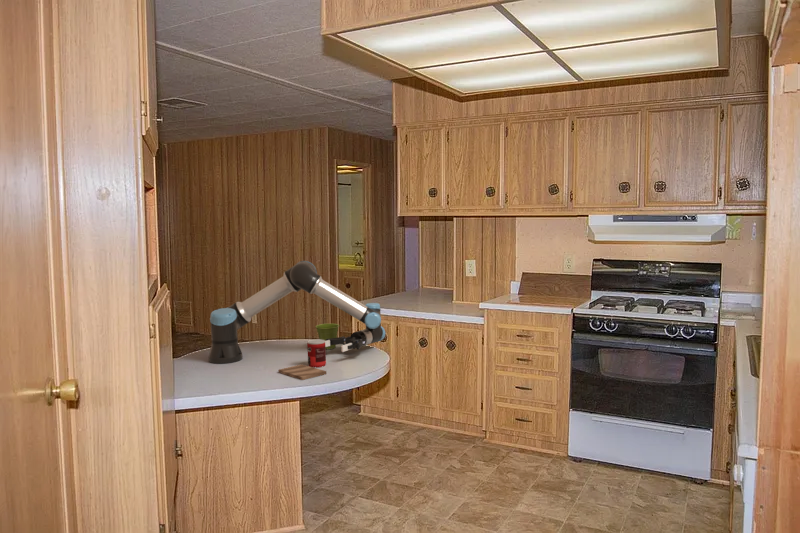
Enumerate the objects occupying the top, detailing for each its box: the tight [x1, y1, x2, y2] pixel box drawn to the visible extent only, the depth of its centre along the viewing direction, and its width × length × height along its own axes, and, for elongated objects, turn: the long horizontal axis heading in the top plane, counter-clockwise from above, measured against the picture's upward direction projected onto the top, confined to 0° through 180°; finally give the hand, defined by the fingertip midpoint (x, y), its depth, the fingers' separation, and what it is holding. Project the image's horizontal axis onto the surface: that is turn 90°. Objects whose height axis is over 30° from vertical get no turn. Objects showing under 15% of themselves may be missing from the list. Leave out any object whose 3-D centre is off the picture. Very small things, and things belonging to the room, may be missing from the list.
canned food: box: [306, 338, 327, 368], centre depth 268 cm, size 8×8×11 cm
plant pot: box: [315, 323, 340, 350], centre depth 302 cm, size 12×12×11 cm
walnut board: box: [278, 364, 327, 381], centre depth 256 cm, size 18×12×1 cm, turn 43°
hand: (330, 347), depth 275 cm, fingers open, 13 cm apart
